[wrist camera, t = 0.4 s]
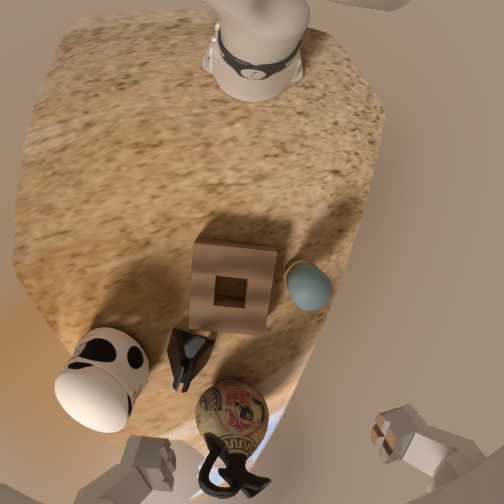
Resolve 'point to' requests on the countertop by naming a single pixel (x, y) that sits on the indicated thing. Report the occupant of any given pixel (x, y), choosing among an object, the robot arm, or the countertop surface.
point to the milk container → (103, 379)
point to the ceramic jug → (232, 436)
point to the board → (238, 266)
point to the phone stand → (187, 356)
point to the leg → (307, 284)
